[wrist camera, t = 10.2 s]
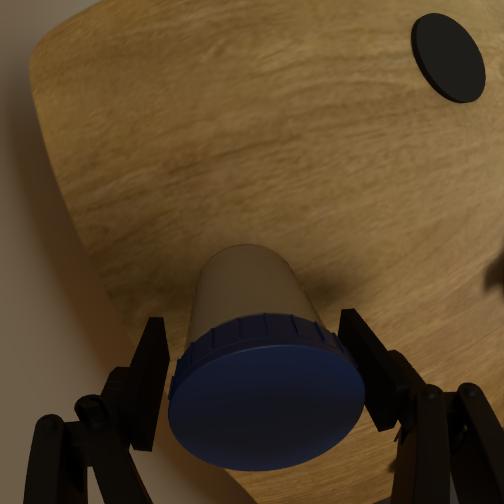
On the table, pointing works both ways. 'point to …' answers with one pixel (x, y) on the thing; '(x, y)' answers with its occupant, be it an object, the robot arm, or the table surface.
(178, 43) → the table surface
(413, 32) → the coaster
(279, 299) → the jar
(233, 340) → the jar lid
